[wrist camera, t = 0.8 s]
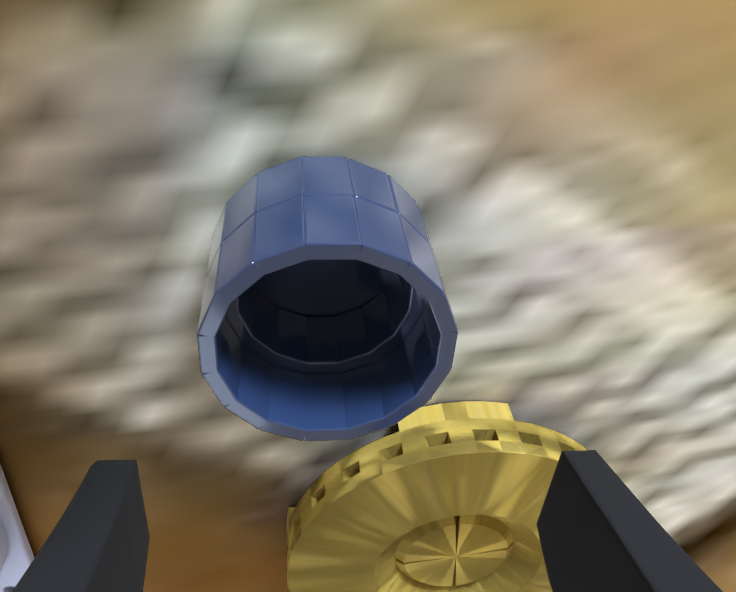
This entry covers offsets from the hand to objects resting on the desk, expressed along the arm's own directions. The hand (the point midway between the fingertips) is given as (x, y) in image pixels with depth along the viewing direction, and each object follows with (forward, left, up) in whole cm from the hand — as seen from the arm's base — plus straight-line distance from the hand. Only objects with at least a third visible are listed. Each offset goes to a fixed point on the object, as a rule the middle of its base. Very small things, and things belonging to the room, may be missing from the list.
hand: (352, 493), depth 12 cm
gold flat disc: (+5, -12, -9) cm, 16 cm away
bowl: (0, 0, -8) cm, 8 cm away
